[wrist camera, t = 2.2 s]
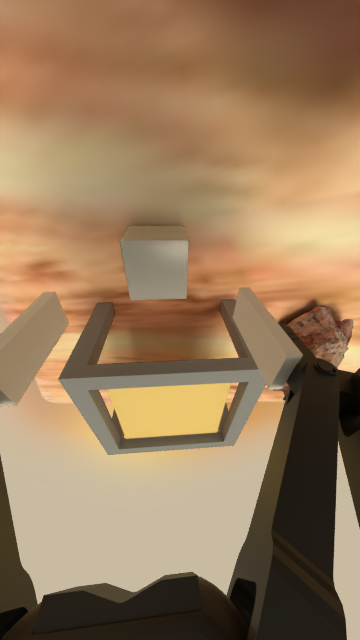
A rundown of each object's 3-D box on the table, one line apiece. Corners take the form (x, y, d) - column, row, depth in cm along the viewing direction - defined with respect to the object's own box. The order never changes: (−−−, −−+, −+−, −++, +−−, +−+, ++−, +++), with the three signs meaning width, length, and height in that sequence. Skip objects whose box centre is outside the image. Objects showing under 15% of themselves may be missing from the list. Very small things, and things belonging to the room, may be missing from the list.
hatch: (107, 374, 21) (104, 381, 20) (230, 368, 21) (233, 375, 21) (126, 431, 29) (125, 438, 28) (215, 425, 30) (216, 432, 29)
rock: (410, 321, 20) (391, 405, 26) (340, 285, 29) (339, 354, 36) (260, 358, 23) (277, 423, 30) (241, 315, 33) (257, 372, 40)
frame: (97, 303, 26) (58, 379, 17) (235, 299, 28) (274, 368, 18) (122, 383, 39) (108, 454, 29) (216, 379, 40) (233, 445, 30)
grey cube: (129, 225, 21) (119, 240, 16) (183, 225, 21) (188, 240, 16) (136, 275, 24) (130, 299, 20) (182, 275, 25) (186, 298, 20)
